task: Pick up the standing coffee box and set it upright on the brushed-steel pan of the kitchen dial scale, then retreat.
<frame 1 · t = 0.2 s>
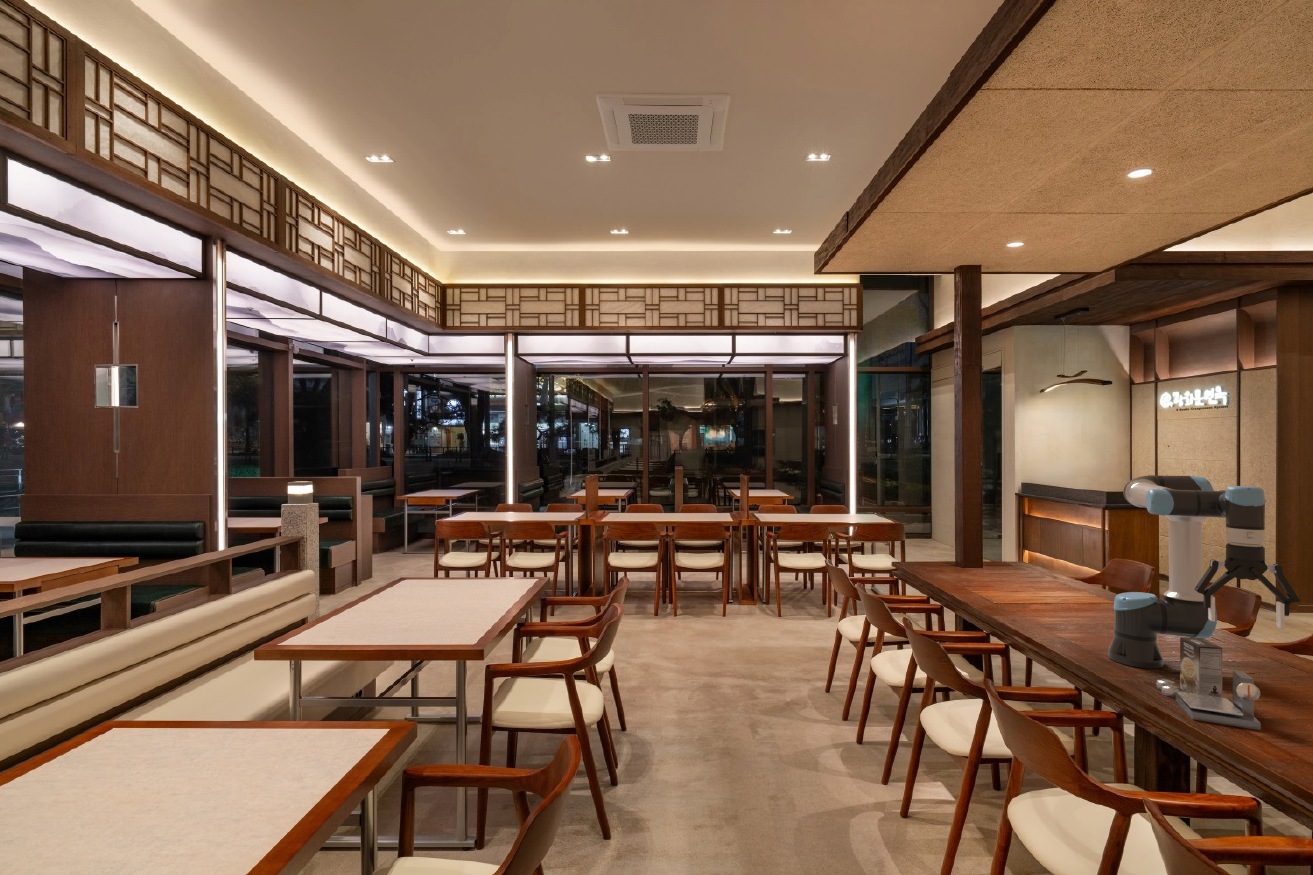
hand: (1245, 623, 162), 27 cm above the table, fingers open, 13 cm apart
coffee box: (1200, 695, 182), on the table
spacer b: (1166, 689, 187), on the table
scale: (1215, 714, 169), on the table
spacer a: (1171, 695, 182), on the table
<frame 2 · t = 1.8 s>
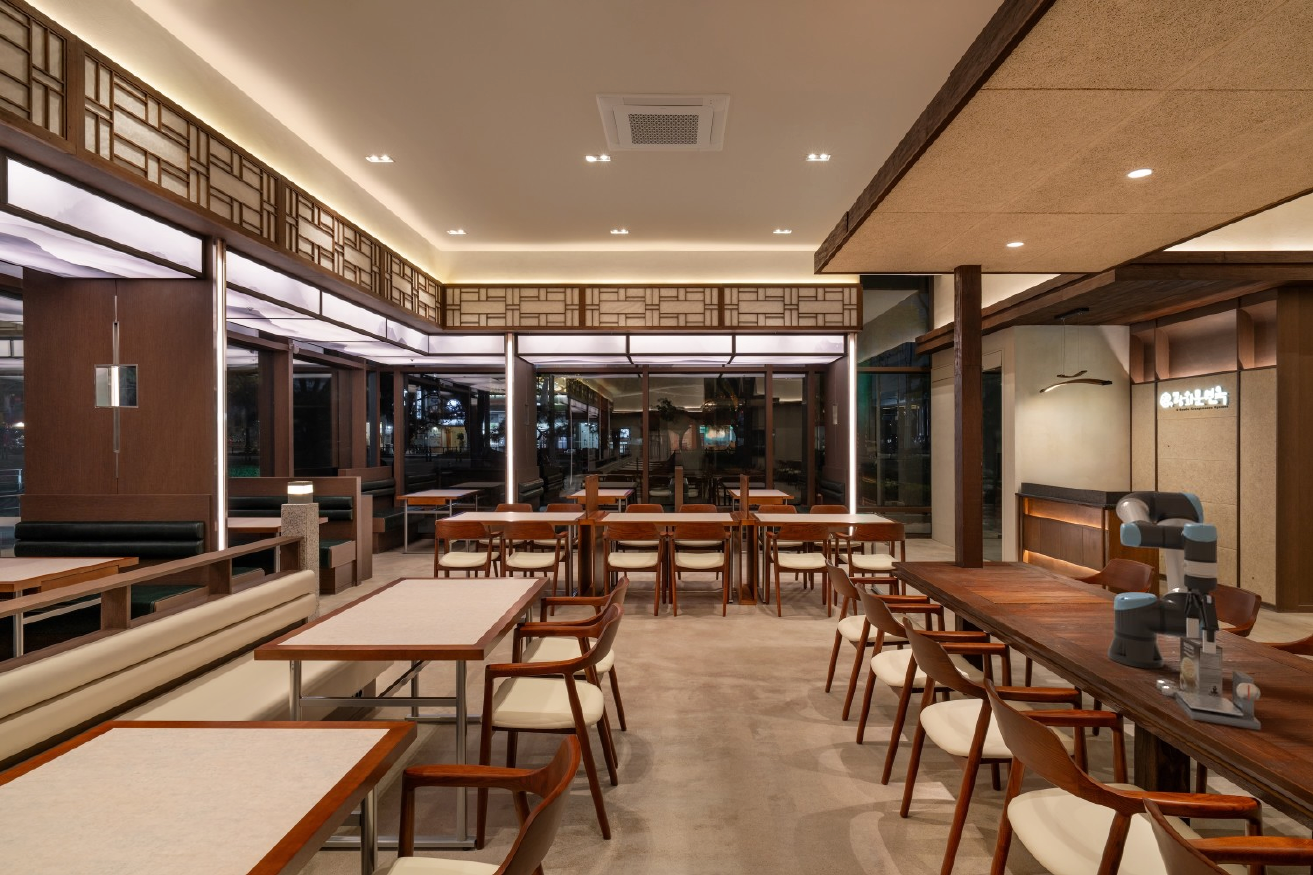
hand: (1200, 646, 182), 15 cm above the table, fingers open, 13 cm apart
nothing on the table moved.
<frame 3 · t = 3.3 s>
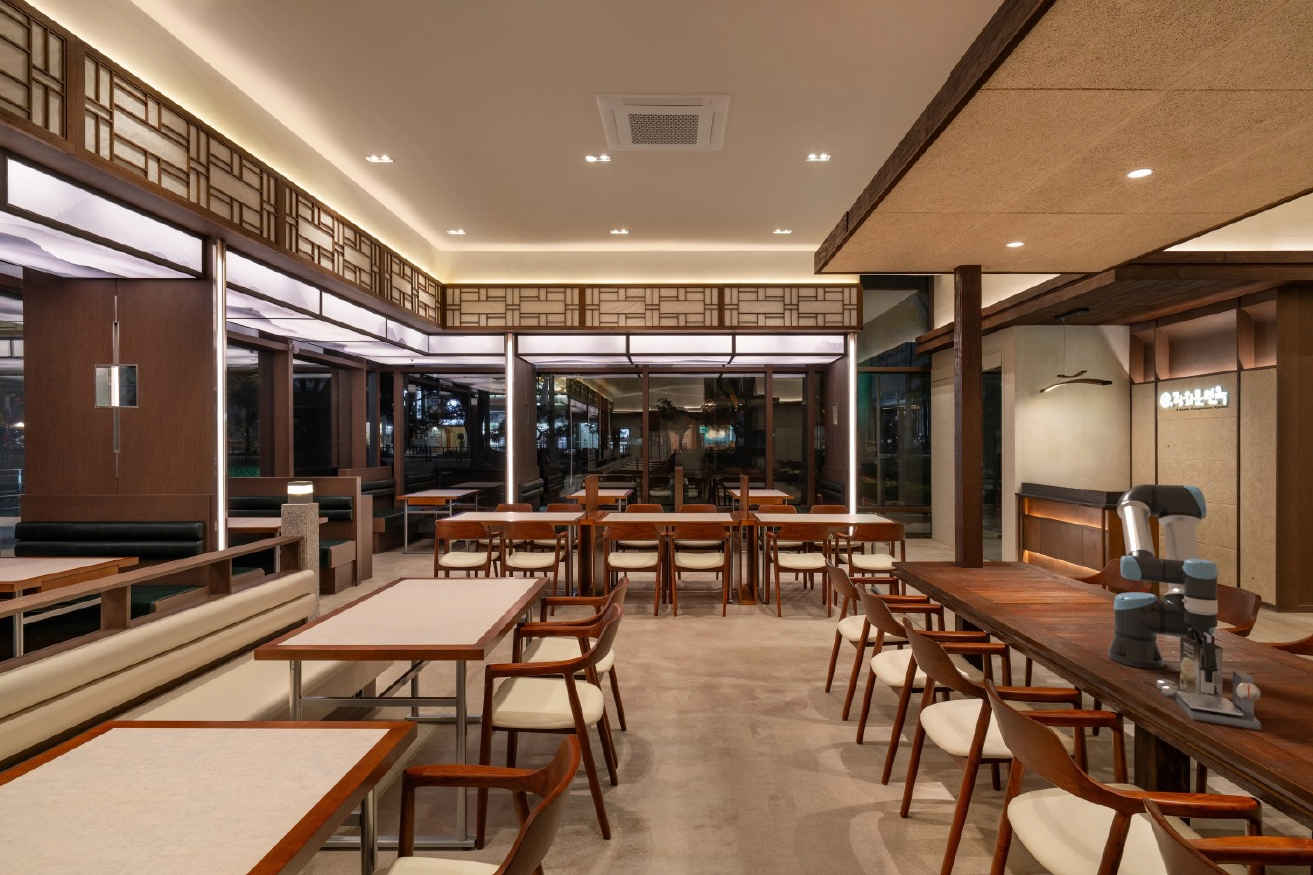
hand: (1200, 685, 182), 3 cm above the table, fingers closed on coffee box, 10 cm apart
coffee box: (1200, 695, 182), on the table, touching gripper
everything else where it was.
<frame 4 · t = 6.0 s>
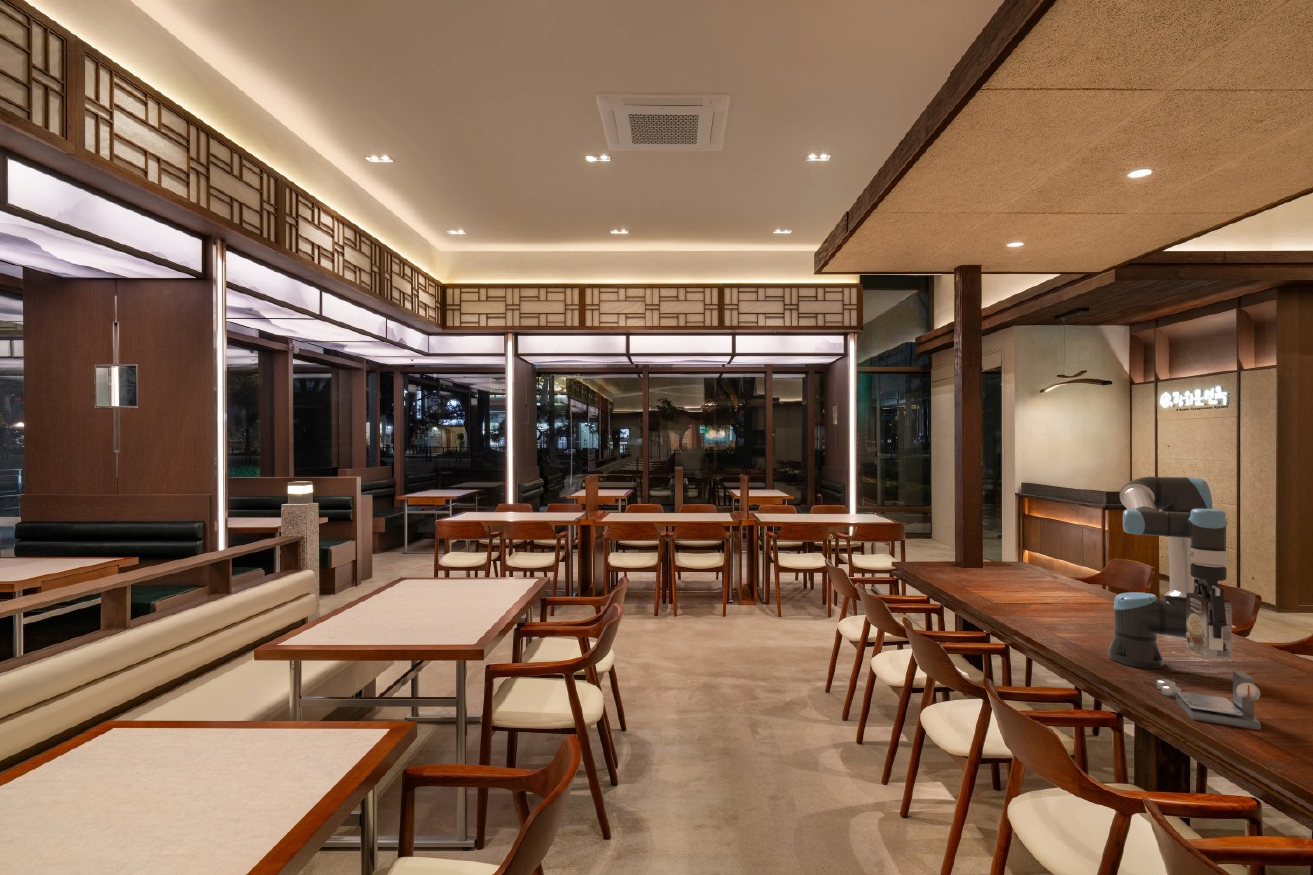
hand: (1208, 643, 170), 19 cm above the table, fingers closed on coffee box, 10 cm apart
coffee box: (1208, 654, 170), point 16 cm above the table, touching gripper
everything else where it was.
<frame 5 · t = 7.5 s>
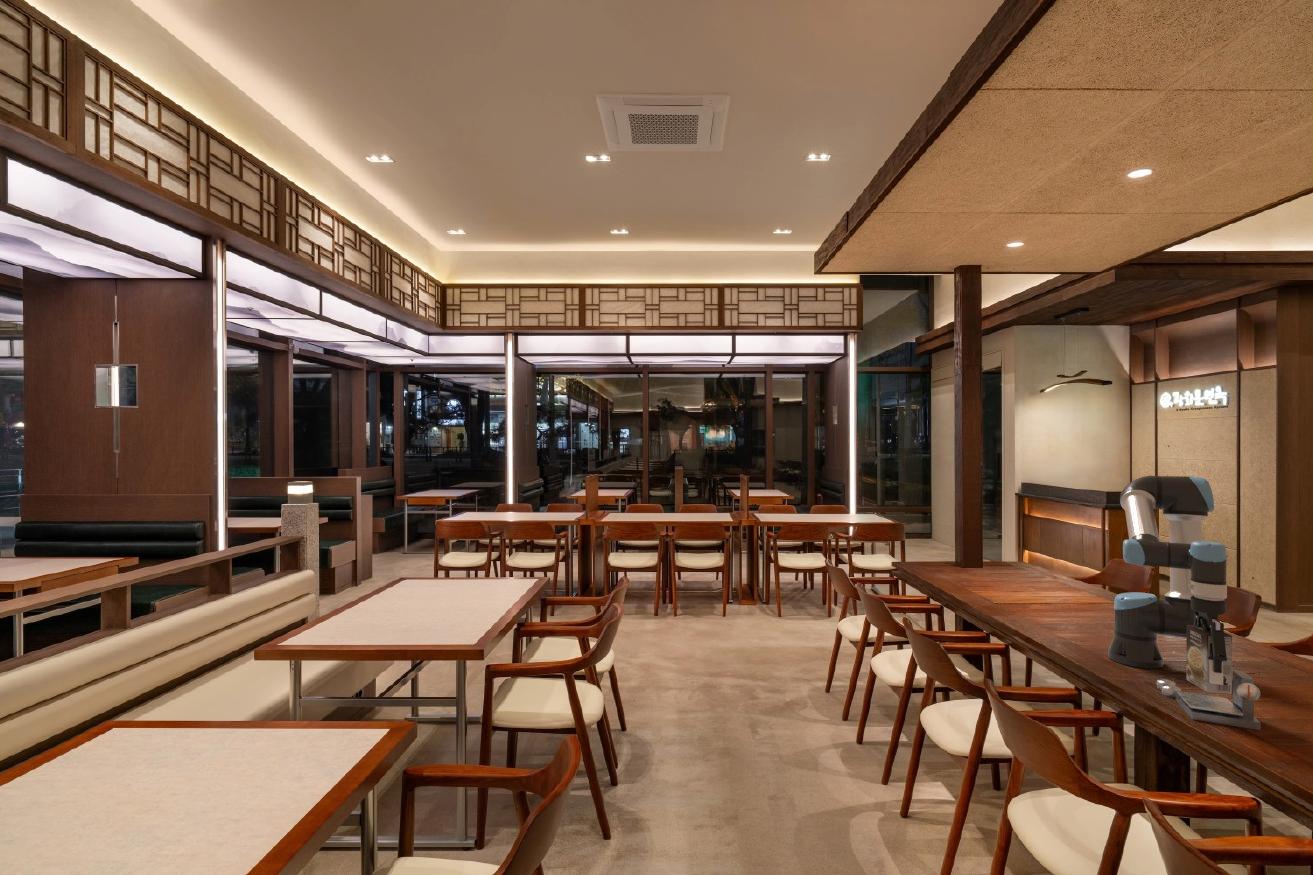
hand: (1208, 676, 170), 10 cm above the table, fingers closed on coffee box, 10 cm apart
coffee box: (1208, 687, 170), point 7 cm above the table, touching gripper
everything else where it was.
when the fingers open (7 cm above the table, at t = 8.7 s): coffee box drops 1 cm, resting on scale.
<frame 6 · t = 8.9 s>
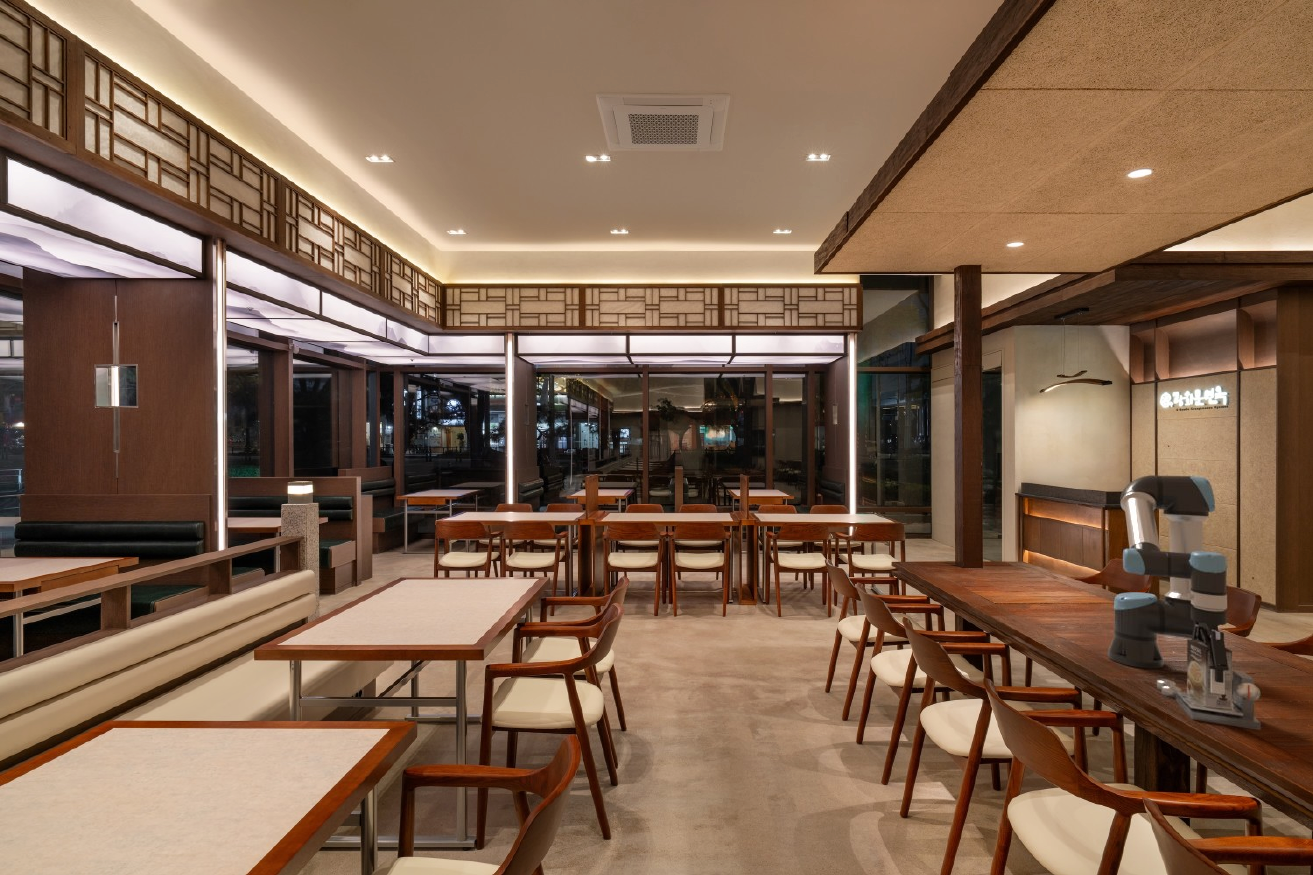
hand: (1208, 684, 170), 8 cm above the table, fingers open, 12 cm apart
coffee box: (1209, 702, 170), point 3 cm above the table, touching scale
everything else where it was.
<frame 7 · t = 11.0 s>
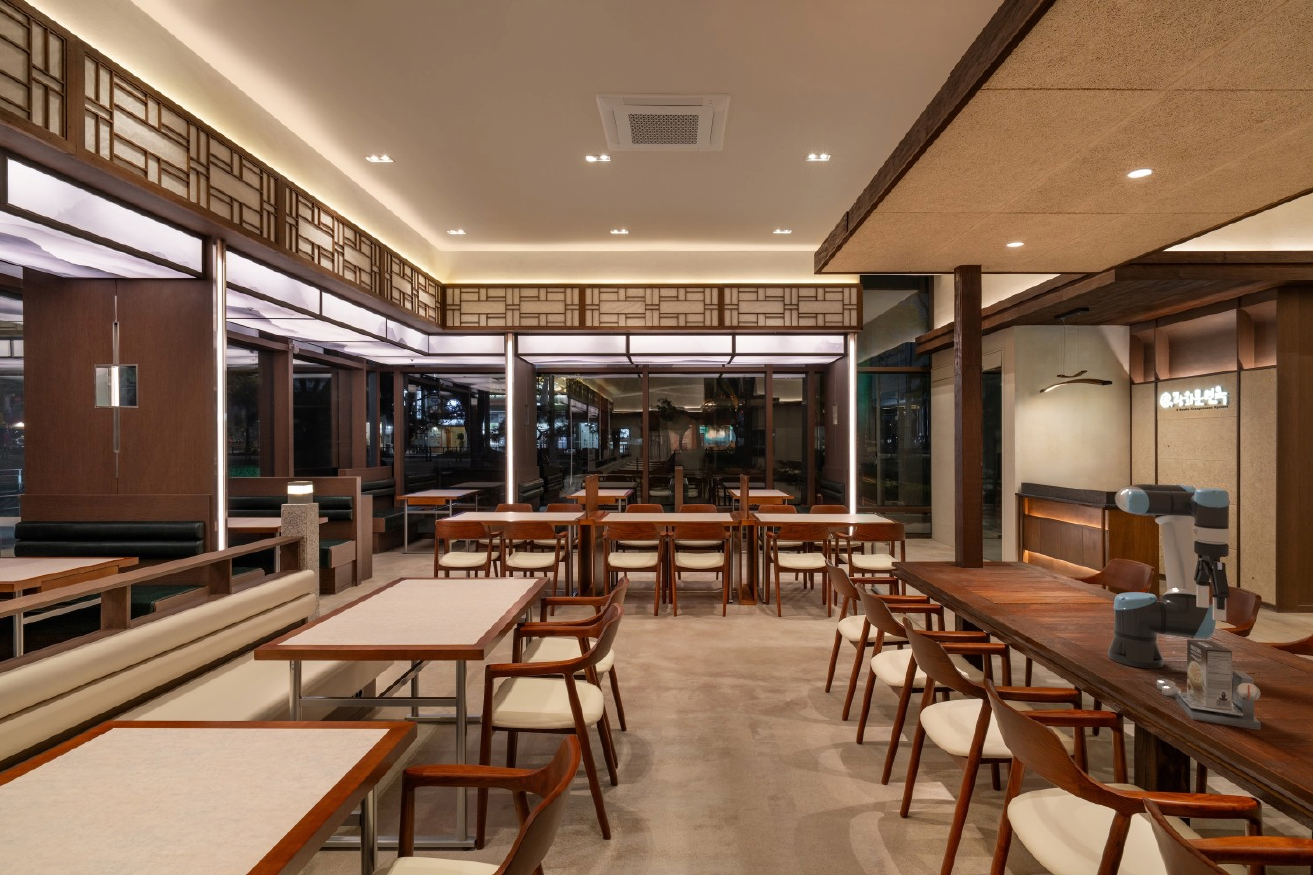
hand: (1210, 613, 178), 26 cm above the table, fingers open, 13 cm apart
nothing on the table moved.
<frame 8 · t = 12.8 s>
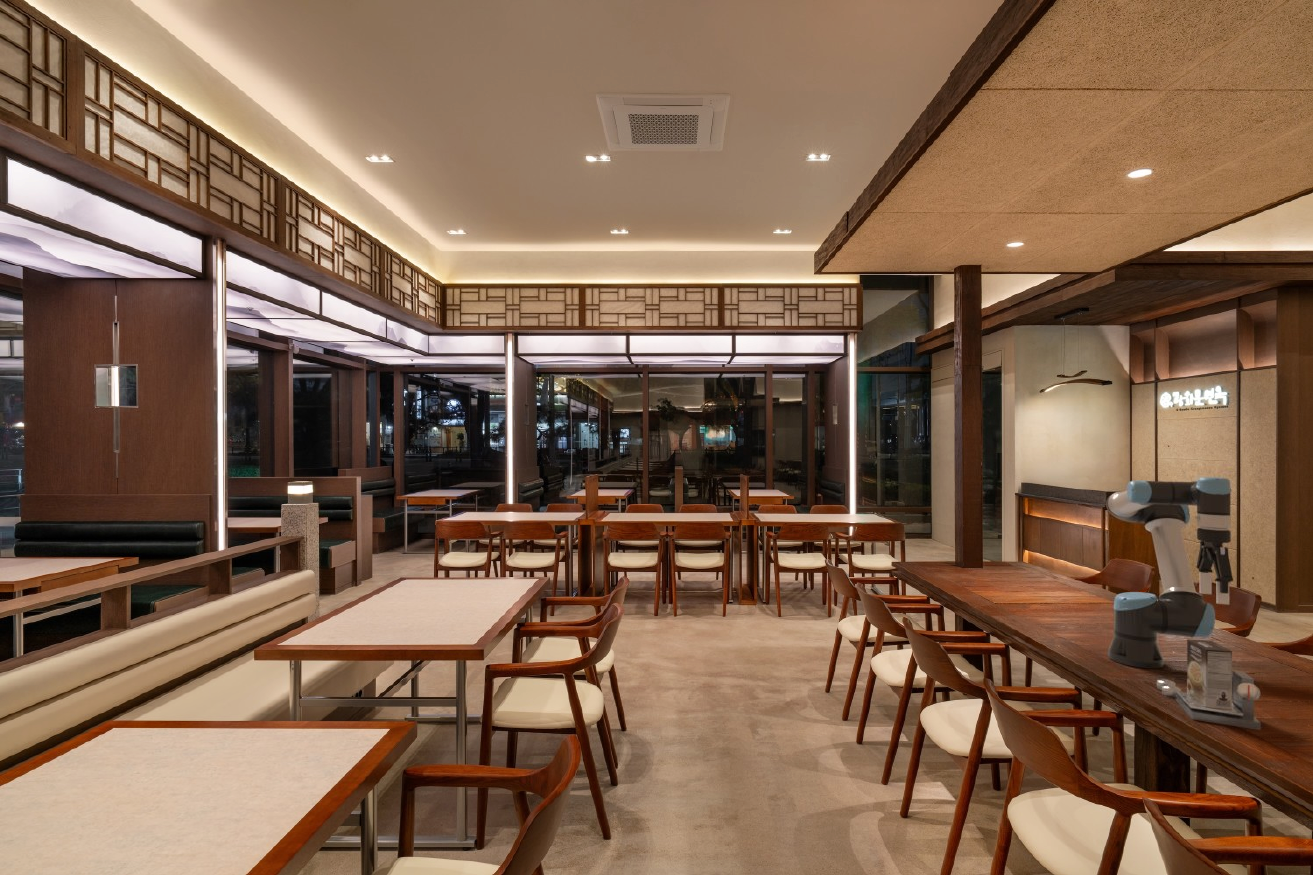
hand: (1213, 598, 183), 29 cm above the table, fingers open, 13 cm apart
nothing on the table moved.
at the end: coffee box inside the target area on the scale (0.2 cm from its centre), point 3.0 cm above the scale's base; coffee box tilted 0°; the gripper is holding nothing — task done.
